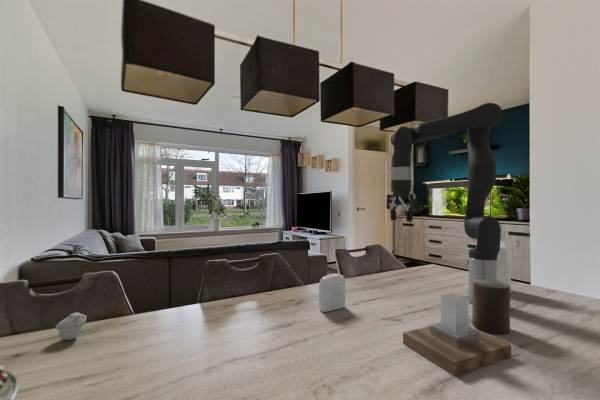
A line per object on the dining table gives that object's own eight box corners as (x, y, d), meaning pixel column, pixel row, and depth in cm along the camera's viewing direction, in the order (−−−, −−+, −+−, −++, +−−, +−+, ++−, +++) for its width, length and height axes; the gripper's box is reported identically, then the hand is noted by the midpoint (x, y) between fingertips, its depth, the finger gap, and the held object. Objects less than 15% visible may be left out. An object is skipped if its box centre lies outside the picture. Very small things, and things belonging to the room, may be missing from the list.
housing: (451, 329, 82) (451, 290, 82) (479, 342, 75) (479, 298, 75) (430, 334, 79) (430, 293, 79) (457, 348, 71) (457, 303, 71)
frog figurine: (88, 338, 82) (88, 313, 82) (56, 347, 78) (56, 320, 78) (84, 331, 87) (84, 308, 87) (53, 339, 82) (53, 314, 82)
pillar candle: (498, 337, 83) (499, 285, 83) (465, 324, 92) (466, 276, 92) (516, 331, 88) (517, 281, 88) (483, 319, 96) (484, 273, 96)
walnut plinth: (454, 330, 88) (454, 320, 88) (511, 356, 73) (511, 344, 73) (403, 343, 80) (403, 332, 80) (454, 375, 65) (454, 362, 65)
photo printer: (339, 304, 110) (339, 271, 110) (347, 307, 106) (347, 273, 106) (317, 309, 104) (317, 275, 104) (324, 313, 101) (324, 277, 101)
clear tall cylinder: (474, 290, 127) (474, 230, 127) (479, 284, 135) (479, 228, 135) (508, 296, 119) (508, 232, 119) (511, 290, 128) (511, 230, 128)
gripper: (422, 178, 109) (422, 221, 109) (395, 180, 122) (395, 219, 122) (407, 177, 106) (407, 222, 106) (381, 180, 119) (381, 219, 119)
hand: (401, 220), depth 114 cm, fingers open, 8 cm apart
